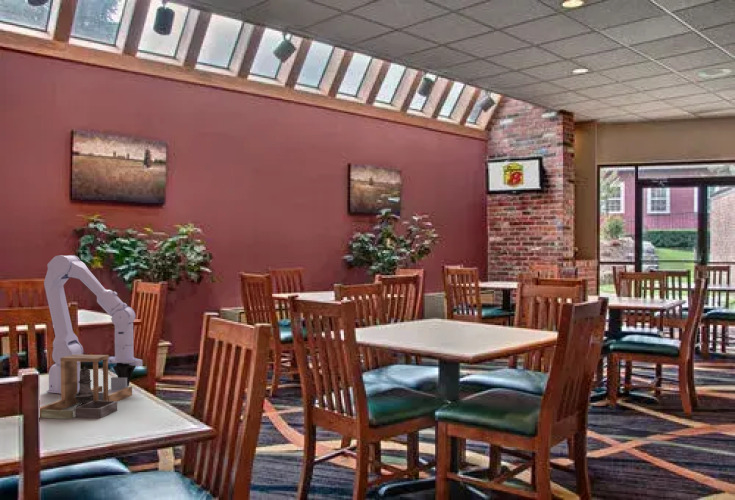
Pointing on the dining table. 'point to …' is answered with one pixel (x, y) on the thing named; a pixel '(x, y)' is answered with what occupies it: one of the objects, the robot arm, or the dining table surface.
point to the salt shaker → (84, 388)
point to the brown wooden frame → (70, 389)
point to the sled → (115, 386)
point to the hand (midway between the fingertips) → (124, 386)
